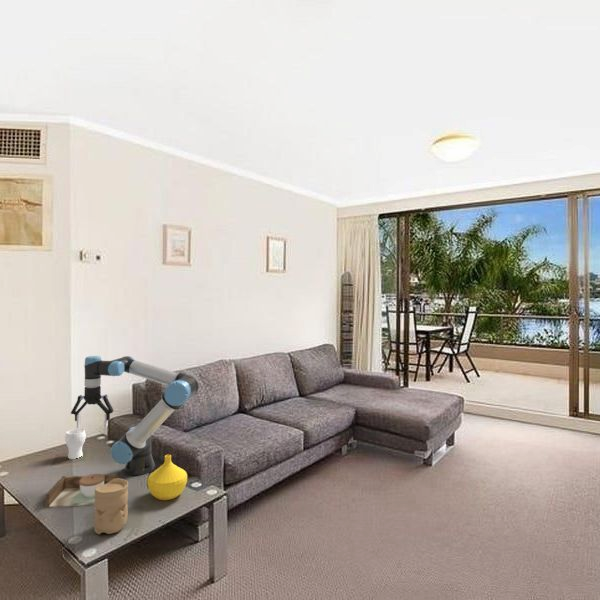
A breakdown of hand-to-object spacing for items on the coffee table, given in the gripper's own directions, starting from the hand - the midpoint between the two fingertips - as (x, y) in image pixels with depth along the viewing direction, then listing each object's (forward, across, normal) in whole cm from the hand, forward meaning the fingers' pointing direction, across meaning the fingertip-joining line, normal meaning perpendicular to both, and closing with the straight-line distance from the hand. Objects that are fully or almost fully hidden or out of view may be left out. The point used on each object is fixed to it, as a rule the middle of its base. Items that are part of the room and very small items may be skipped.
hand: (92, 426), depth 218 cm
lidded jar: (+26, -7, +21) cm, 34 cm away
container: (+27, -24, +49) cm, 61 cm away
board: (+27, -3, +20) cm, 33 cm away
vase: (+27, -42, +23) cm, 55 cm away
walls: (+27, -3, +20) cm, 33 cm away
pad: (+27, -7, +21) cm, 35 cm away
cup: (+27, +19, -29) cm, 44 cm away
